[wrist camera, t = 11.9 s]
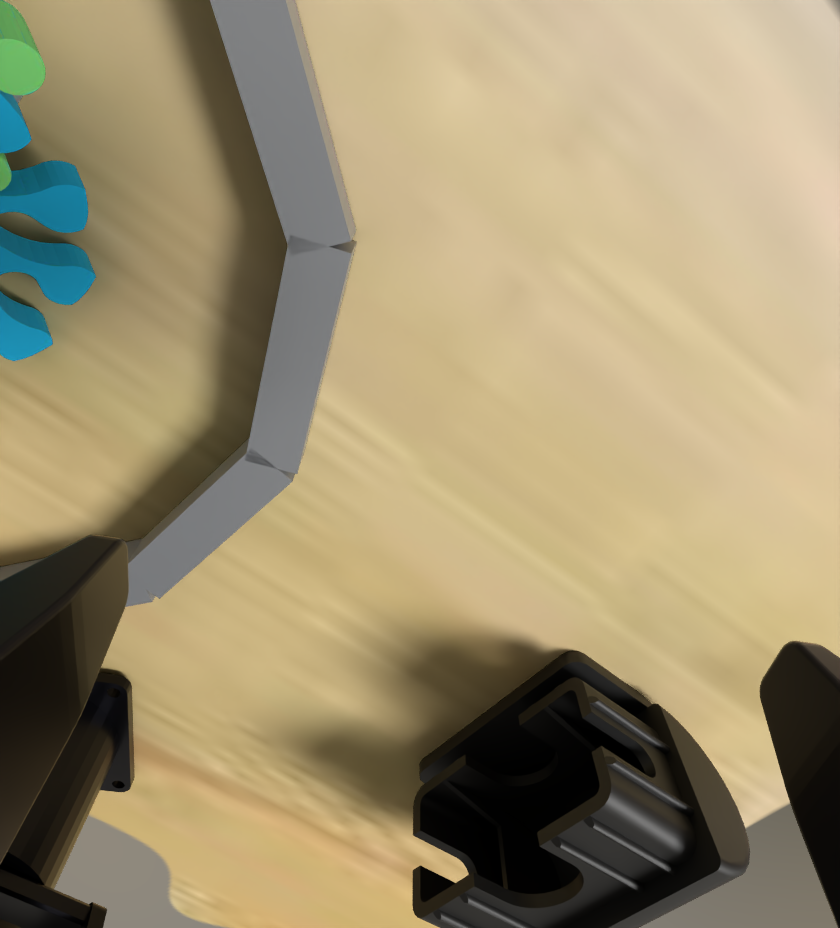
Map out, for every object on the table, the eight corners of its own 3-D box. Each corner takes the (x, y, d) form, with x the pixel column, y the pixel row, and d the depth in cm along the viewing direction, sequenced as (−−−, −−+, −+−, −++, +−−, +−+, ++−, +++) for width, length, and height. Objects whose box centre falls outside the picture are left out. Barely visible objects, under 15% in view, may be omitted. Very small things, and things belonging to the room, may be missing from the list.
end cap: (524, 834, 30) (550, 1015, 24) (406, 769, 28) (402, 951, 22) (701, 722, 26) (783, 903, 20) (582, 636, 24) (635, 812, 18)
